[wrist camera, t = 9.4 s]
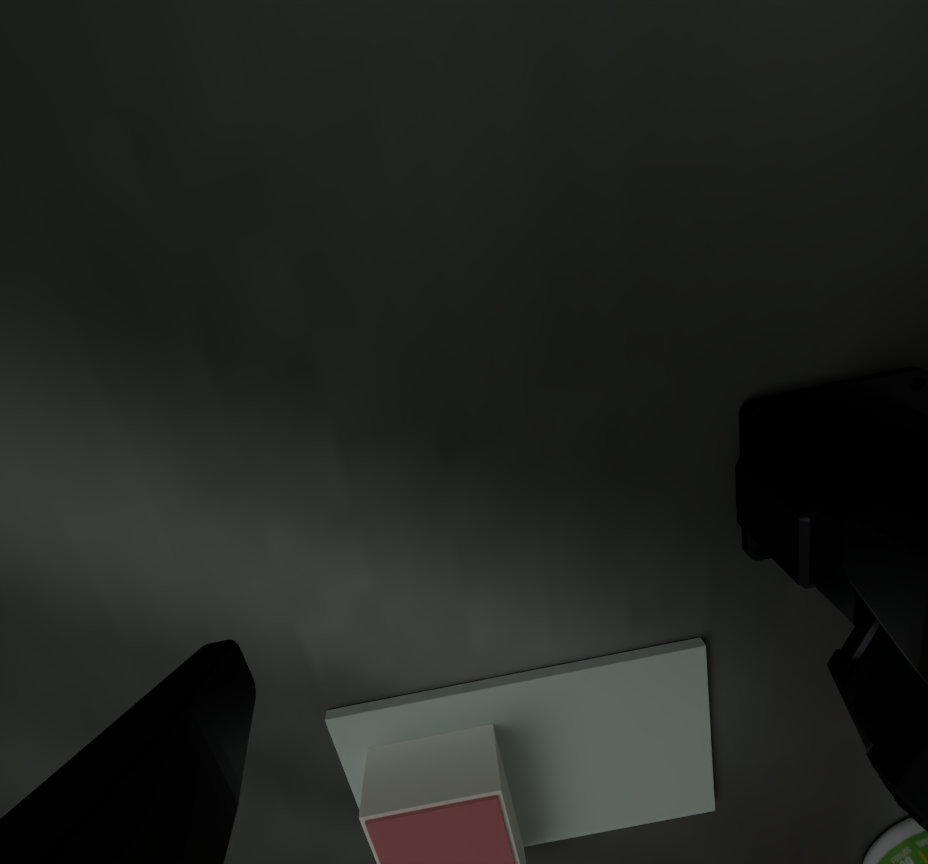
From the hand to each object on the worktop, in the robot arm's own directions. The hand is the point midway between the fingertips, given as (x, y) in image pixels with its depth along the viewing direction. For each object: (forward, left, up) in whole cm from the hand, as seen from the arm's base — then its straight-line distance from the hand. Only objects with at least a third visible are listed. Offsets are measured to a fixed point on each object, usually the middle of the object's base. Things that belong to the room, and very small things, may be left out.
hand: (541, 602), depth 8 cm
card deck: (+5, +19, -12) cm, 23 cm away
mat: (+1, +18, -12) cm, 22 cm away
